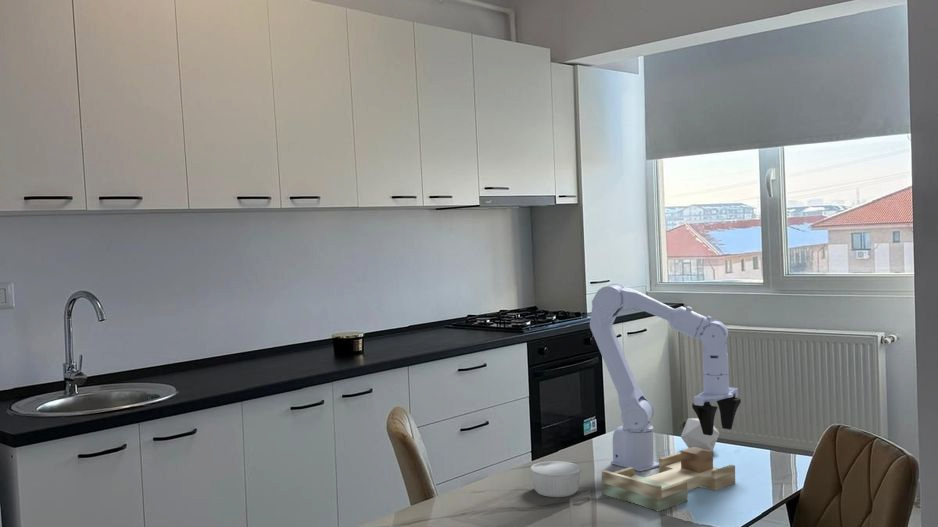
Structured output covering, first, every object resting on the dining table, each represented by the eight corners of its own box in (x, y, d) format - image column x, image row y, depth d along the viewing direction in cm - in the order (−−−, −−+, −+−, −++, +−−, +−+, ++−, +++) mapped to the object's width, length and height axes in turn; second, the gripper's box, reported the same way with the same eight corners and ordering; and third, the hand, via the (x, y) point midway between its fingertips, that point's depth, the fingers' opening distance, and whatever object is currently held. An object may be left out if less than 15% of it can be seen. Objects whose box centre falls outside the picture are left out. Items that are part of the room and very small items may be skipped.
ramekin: (552, 480, 188) (552, 457, 188) (592, 490, 180) (591, 466, 180) (520, 491, 180) (519, 468, 180) (559, 503, 172) (559, 478, 172)
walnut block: (681, 468, 186) (680, 450, 186) (694, 463, 189) (694, 446, 189) (699, 472, 182) (699, 455, 182) (713, 468, 185) (712, 450, 185)
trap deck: (602, 494, 177) (602, 471, 177) (679, 469, 194) (678, 448, 194) (658, 511, 165) (658, 487, 165) (735, 483, 182) (735, 461, 182)
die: (712, 459, 204) (729, 424, 206) (679, 441, 205) (696, 406, 208) (702, 462, 212) (719, 428, 214) (671, 445, 213) (688, 411, 216)
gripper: (712, 379, 182) (714, 440, 183) (748, 371, 191) (750, 428, 192) (685, 376, 188) (687, 435, 188) (722, 368, 197) (724, 424, 197)
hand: (717, 431), depth 190 cm, fingers open, 7 cm apart
